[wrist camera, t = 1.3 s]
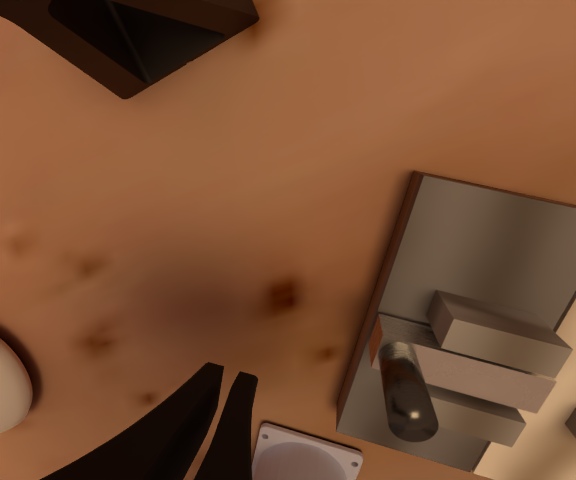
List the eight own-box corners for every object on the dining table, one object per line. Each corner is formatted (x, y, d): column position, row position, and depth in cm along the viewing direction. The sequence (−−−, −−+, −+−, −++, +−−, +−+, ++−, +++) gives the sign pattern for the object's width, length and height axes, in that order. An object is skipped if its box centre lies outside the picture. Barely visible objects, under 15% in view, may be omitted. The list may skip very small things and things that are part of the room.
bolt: (368, 343, 18) (379, 434, 12) (378, 313, 17) (394, 396, 12) (515, 383, 17) (596, 500, 11) (532, 353, 16) (626, 463, 11)
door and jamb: (336, 403, 23) (334, 474, 18) (414, 170, 17) (441, 183, 12) (600, 481, 21) (675, 582, 16) (786, 250, 15) (987, 302, 10)
